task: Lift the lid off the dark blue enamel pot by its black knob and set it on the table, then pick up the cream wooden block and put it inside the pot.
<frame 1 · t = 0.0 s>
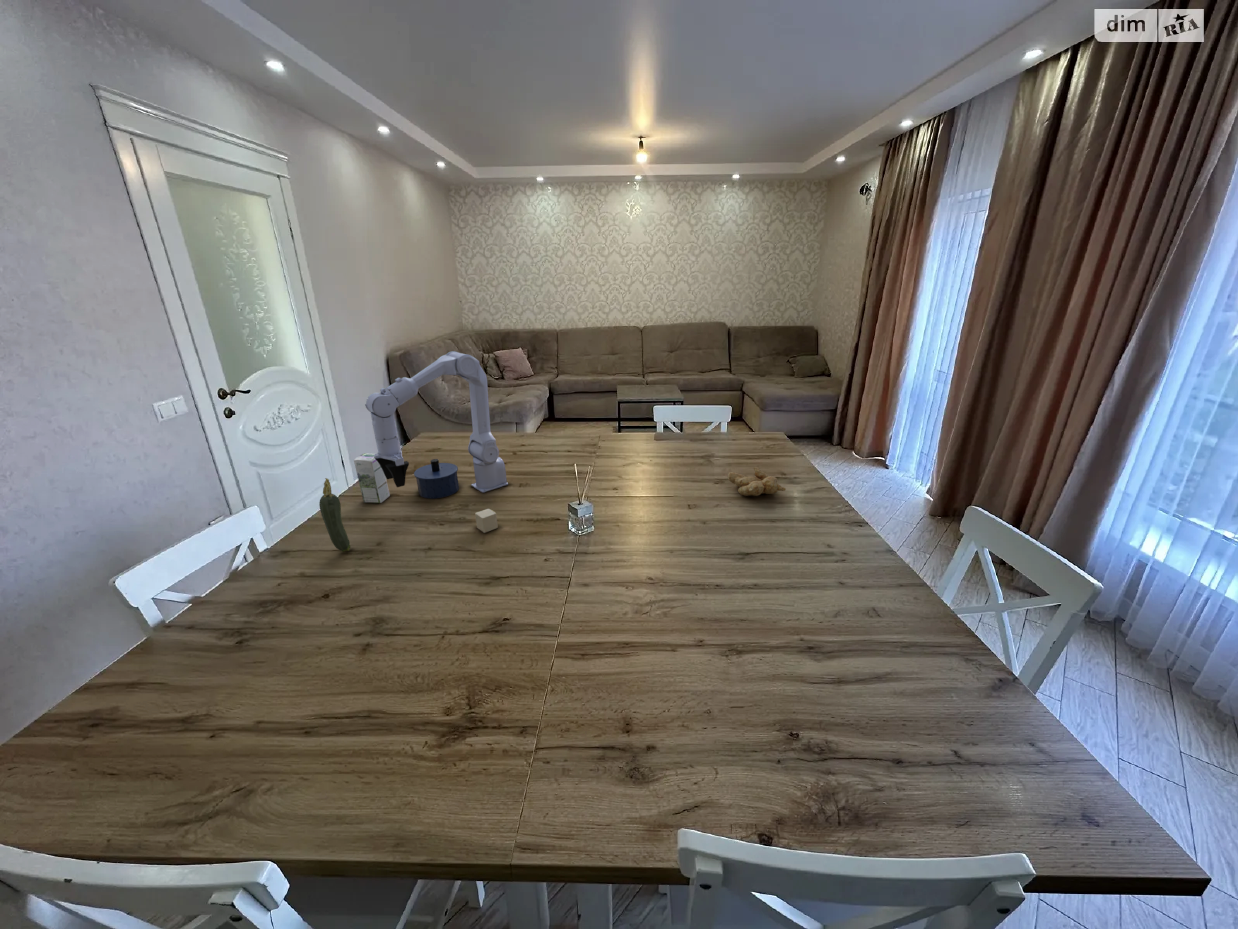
hand: (395, 482, 138), 10 cm above the table, tool pointing down, fingers open, 7 cm apart
lid: (436, 471, 154), point 6 cm above the table, touching pot
block: (487, 527, 133), on the table
vegetable: (342, 553, 122), on the table
ginger root: (755, 493, 153), on the table
pot: (439, 490, 156), on the table
syrup box: (377, 500, 150), on the table
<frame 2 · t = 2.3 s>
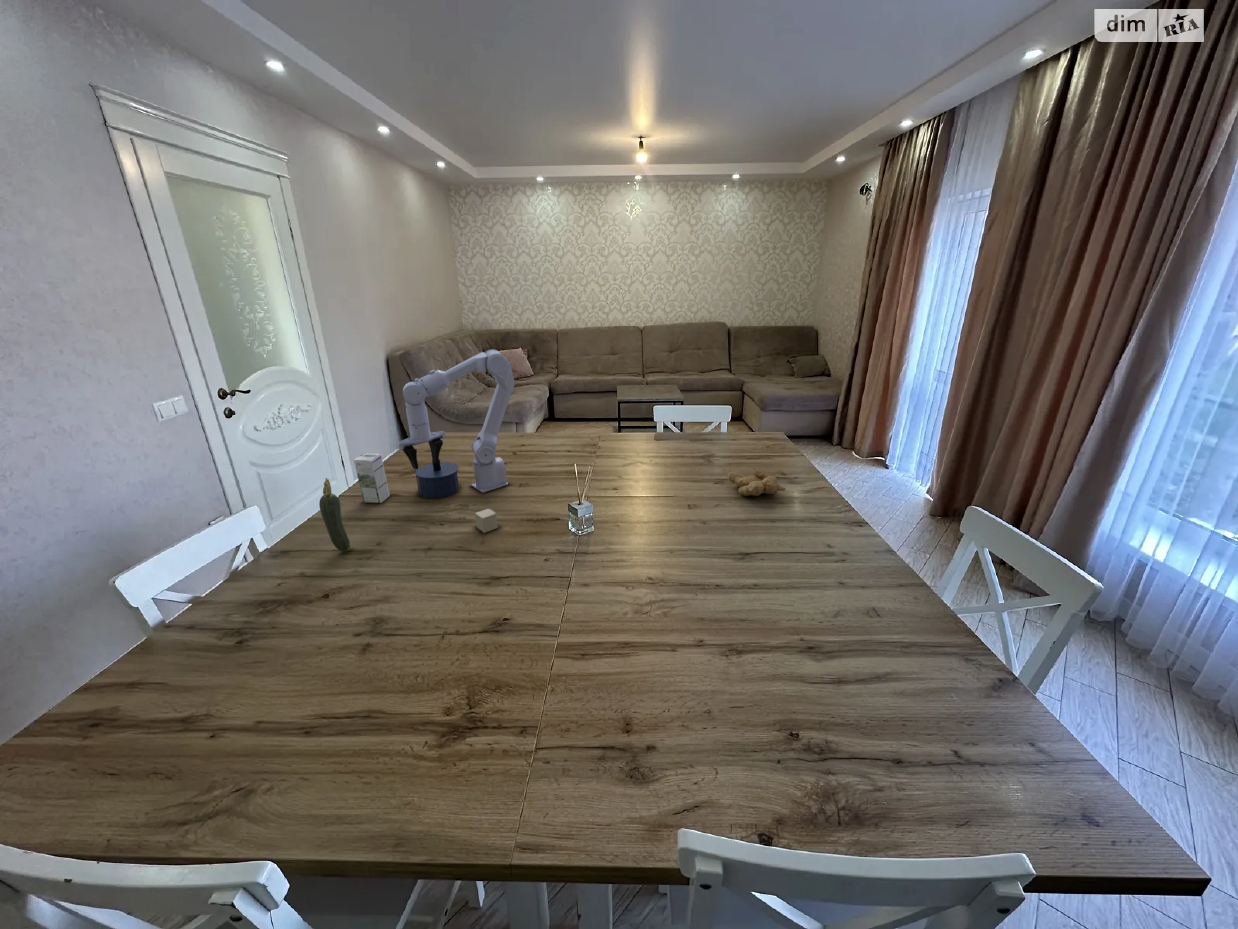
hand: (425, 465, 149), 10 cm above the table, tool pointing down, fingers open, 6 cm apart
lid: (437, 471, 154), point 7 cm above the table, touching gripper, pot
everything else where it was.
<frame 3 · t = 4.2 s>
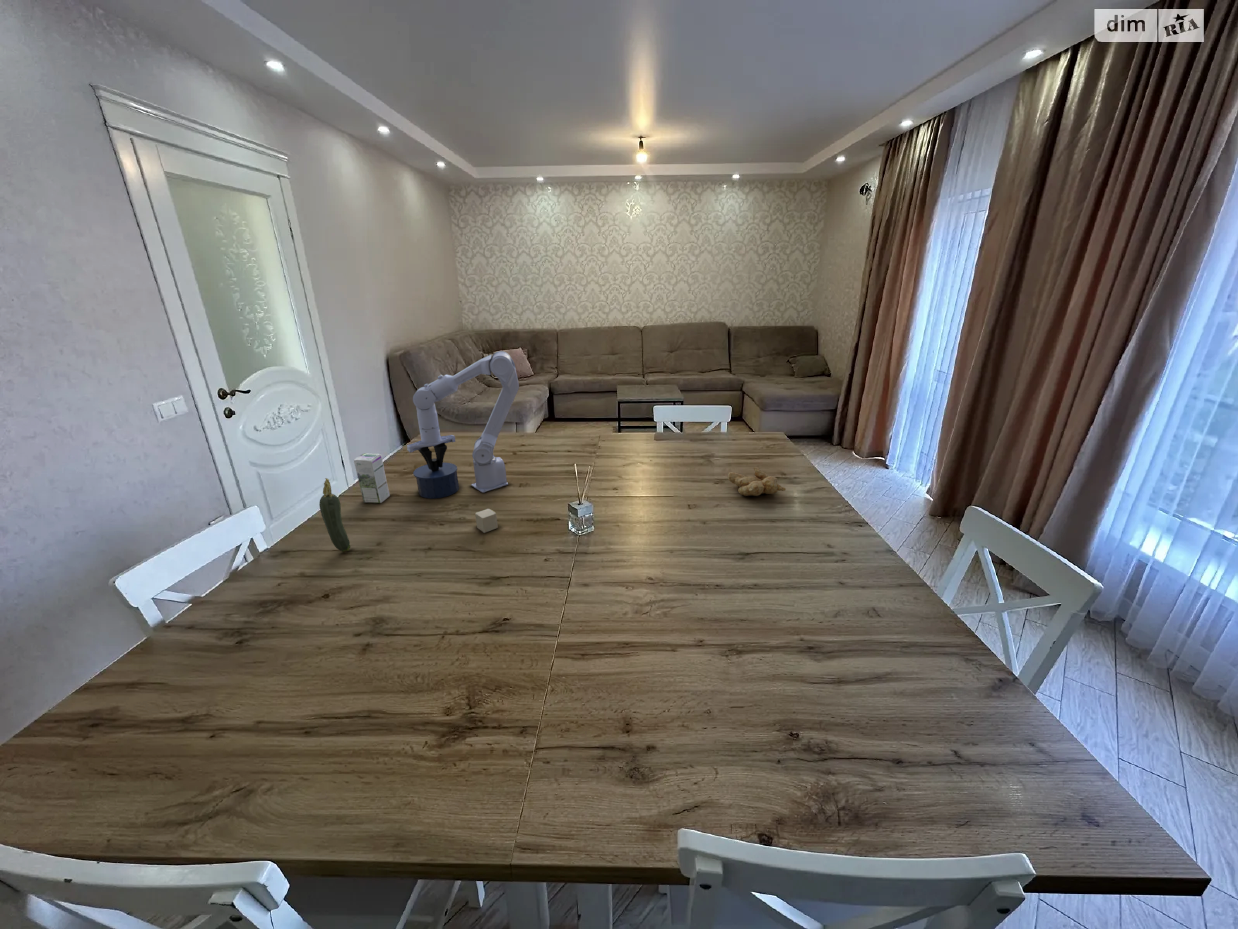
hand: (435, 467, 153), 8 cm above the table, tool pointing down, fingers closed on lid, 2 cm apart
lid: (435, 471, 154), point 7 cm above the table, touching gripper
everything else where it was.
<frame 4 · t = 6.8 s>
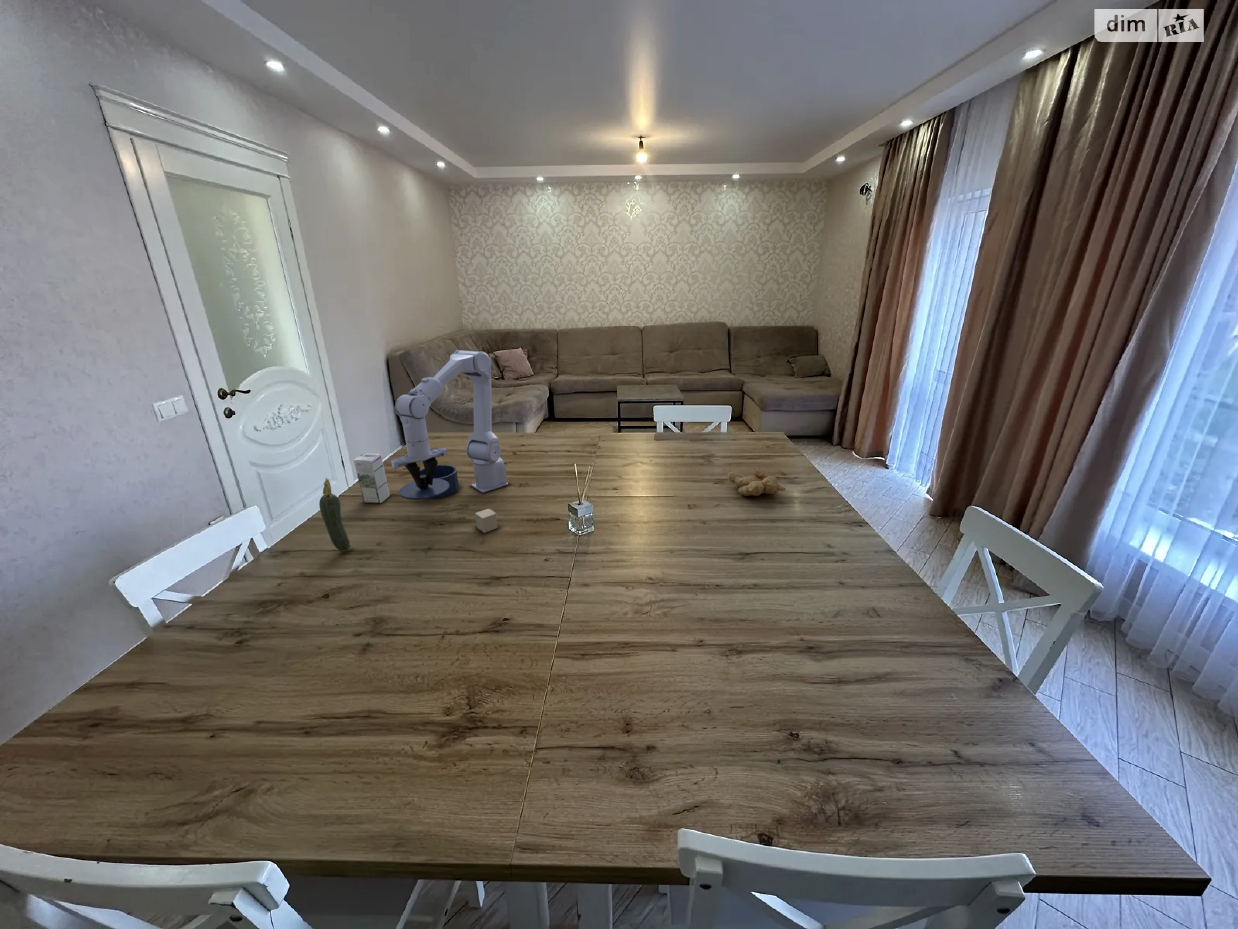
hand: (424, 485, 134), 10 cm above the table, tool pointing down, fingers closed on lid, 2 cm apart
lid: (424, 489, 135), point 9 cm above the table, touching gripper
everything else where it was.
when the fingers open (2 cm above the table, at t = 9.4 s): lid stays where it is, point 1 cm above the table.
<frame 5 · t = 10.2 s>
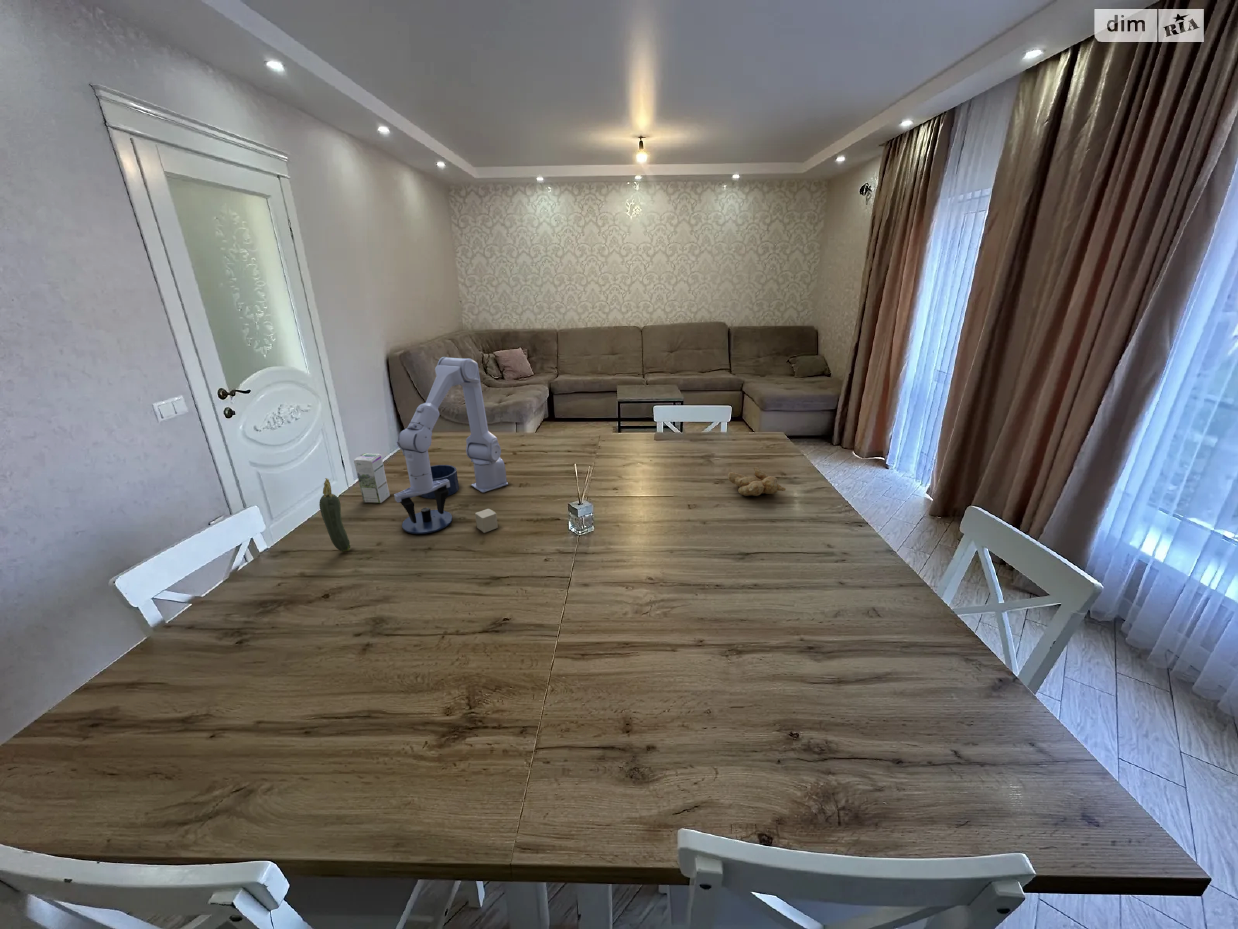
hand: (427, 517, 134), 2 cm above the table, tool pointing down, fingers open, 7 cm apart
lid: (427, 522, 135), point 1 cm above the table
everything else where it was.
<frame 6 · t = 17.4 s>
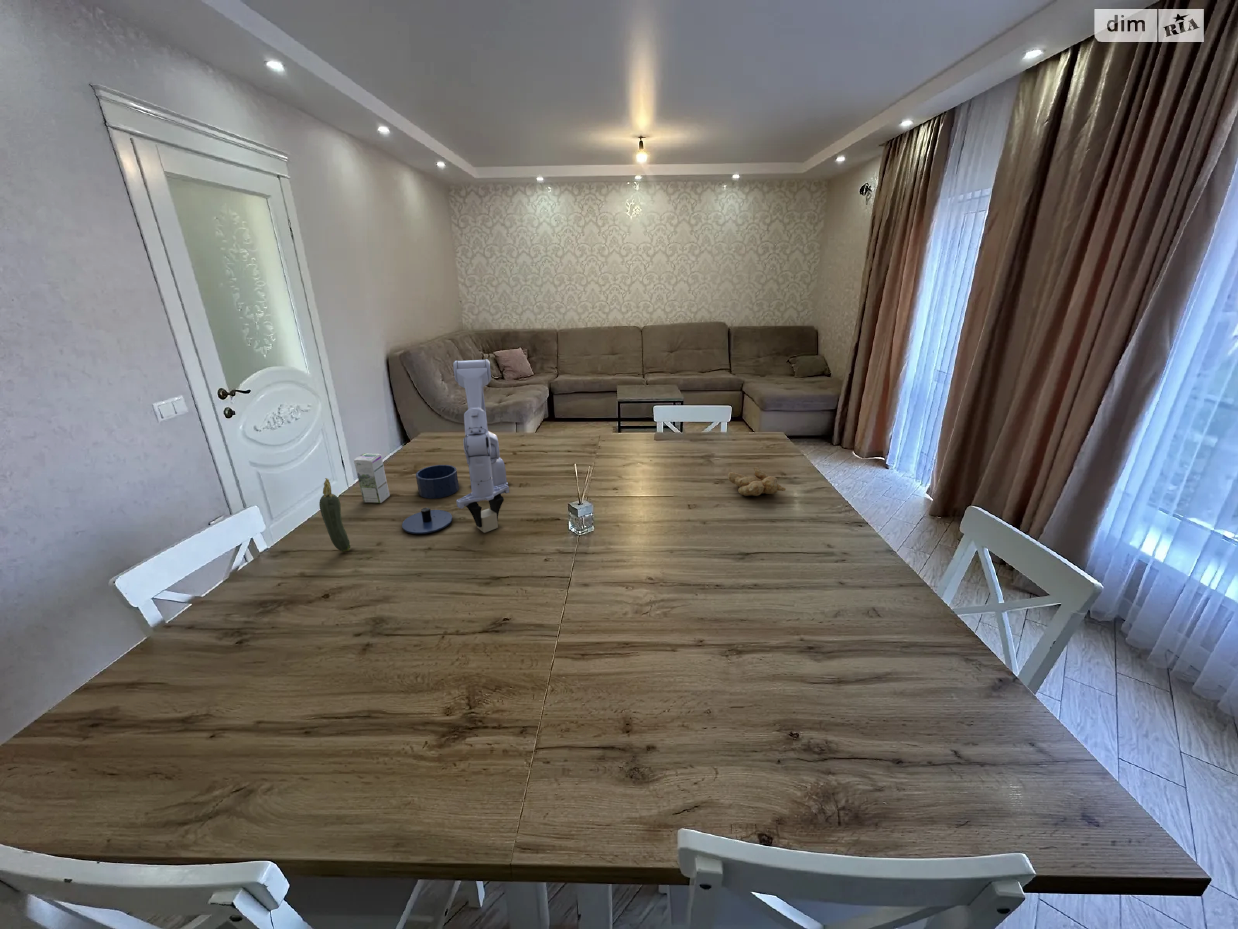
hand: (486, 523, 133), 1 cm above the table, tool pointing down, fingers closed on block, 4 cm apart
block: (487, 527, 133), on the table, touching gripper
everything else where it was.
when the fingers open (3 cm above the table, at t = 24.3 s): block drops 1 cm, resting on pot.
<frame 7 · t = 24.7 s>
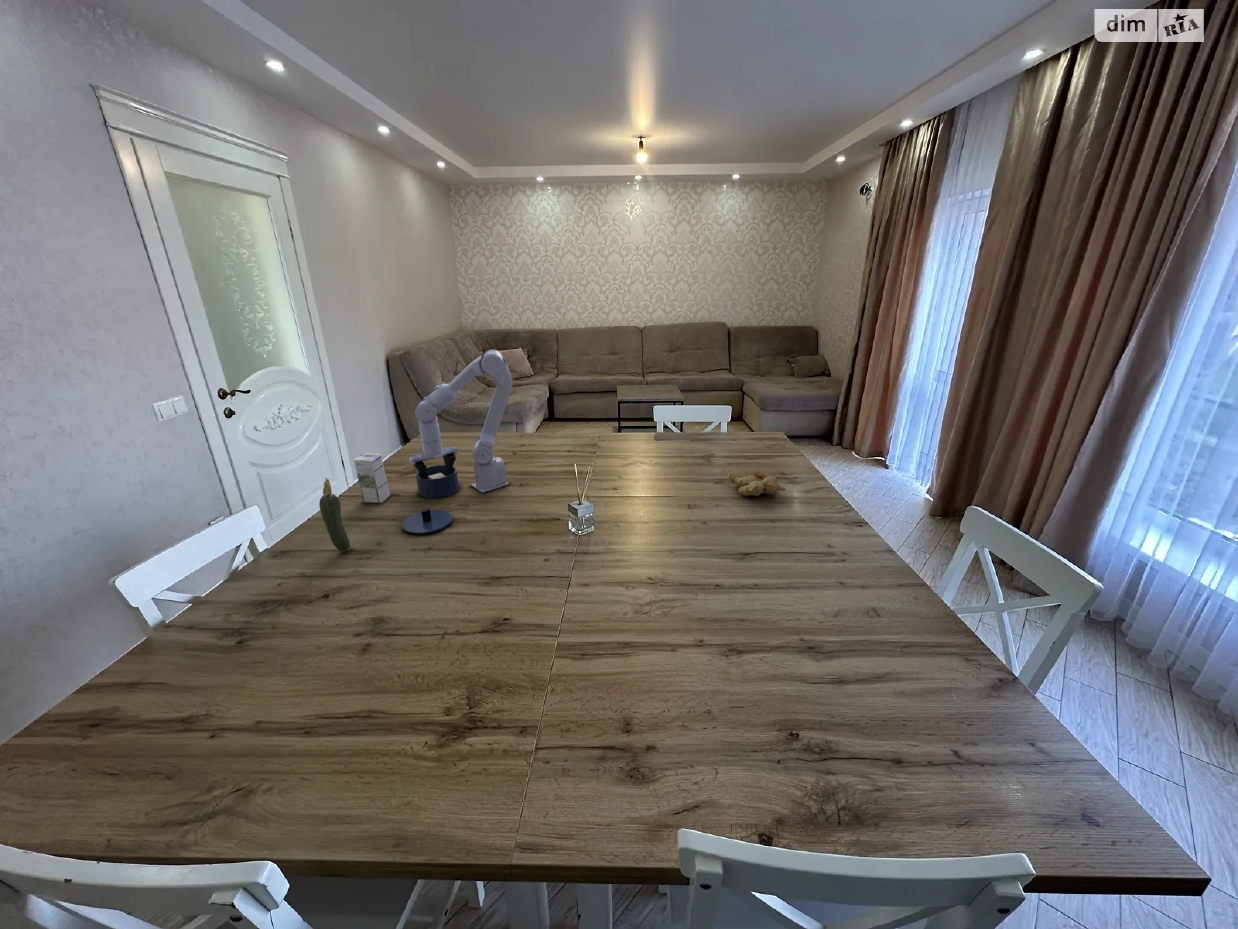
hand: (437, 479, 155), 4 cm above the table, tool pointing down, fingers open, 7 cm apart
block: (439, 488, 156), resting on pot
everything else where it was.
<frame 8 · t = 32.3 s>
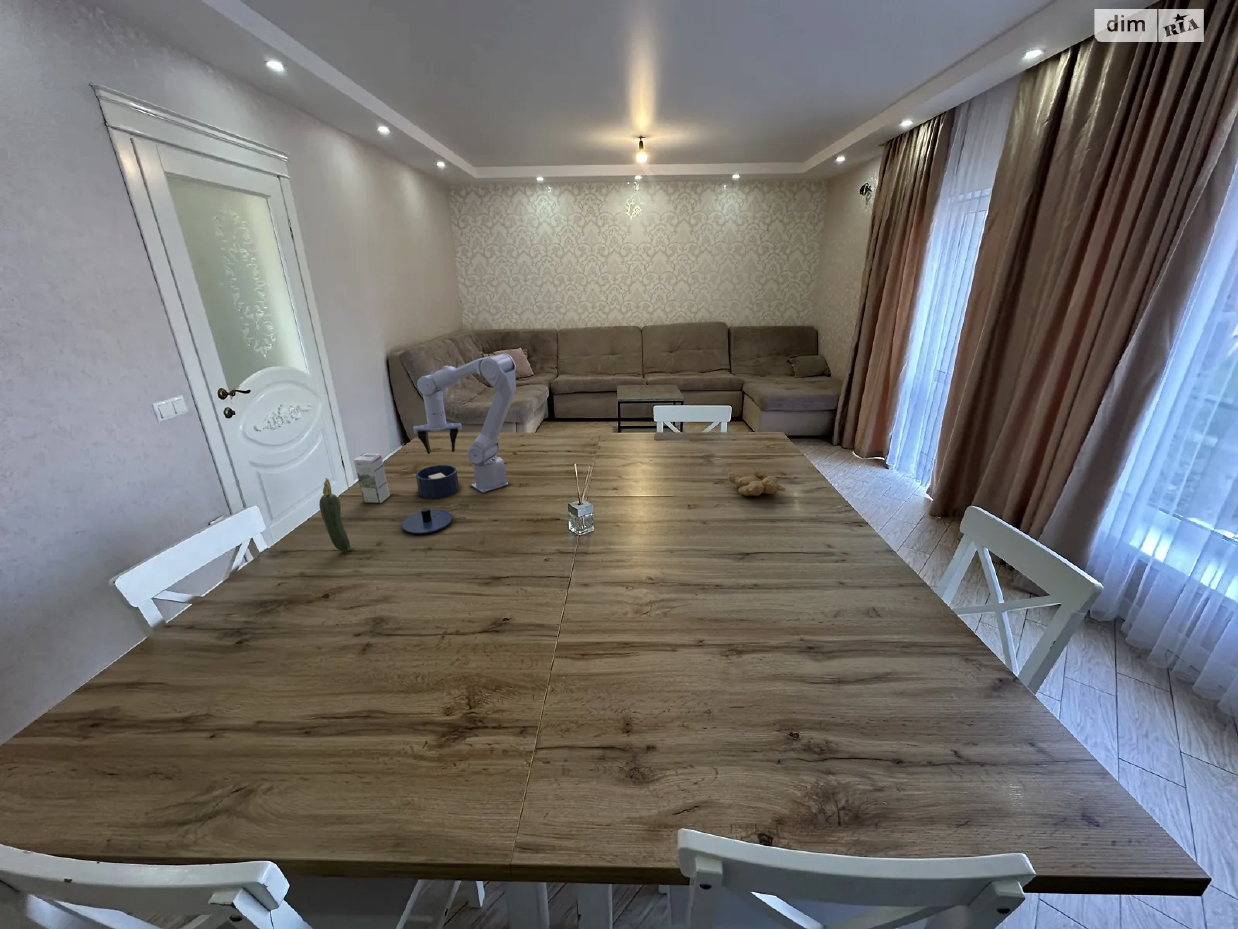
hand: (441, 451, 160), 10 cm above the table, tool pointing down, fingers open, 7 cm apart
nothing on the table moved.
at the end: lid point 0.6 cm above the table; block inside the target area in the pot (0.0 cm from its centre), point 0.5 cm above the pot's base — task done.
